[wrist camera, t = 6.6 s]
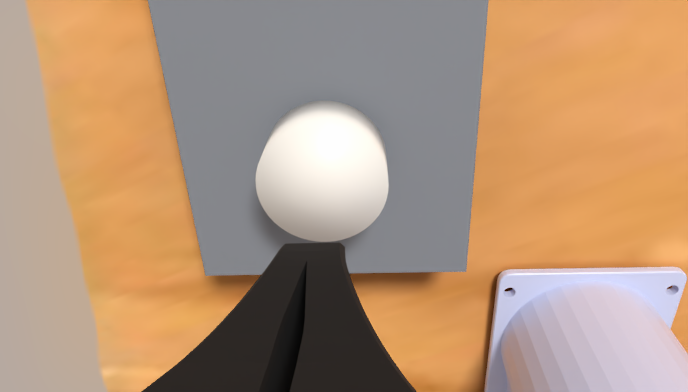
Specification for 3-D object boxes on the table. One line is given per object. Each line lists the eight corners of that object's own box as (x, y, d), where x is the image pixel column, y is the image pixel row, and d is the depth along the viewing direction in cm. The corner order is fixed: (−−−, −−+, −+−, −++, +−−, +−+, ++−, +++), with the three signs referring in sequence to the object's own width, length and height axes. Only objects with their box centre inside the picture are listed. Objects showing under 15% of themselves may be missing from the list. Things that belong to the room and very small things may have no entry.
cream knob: (383, 170, 21) (388, 240, 17) (284, 173, 22) (263, 243, 17) (382, 71, 19) (388, 121, 15) (273, 75, 20) (247, 125, 15)
